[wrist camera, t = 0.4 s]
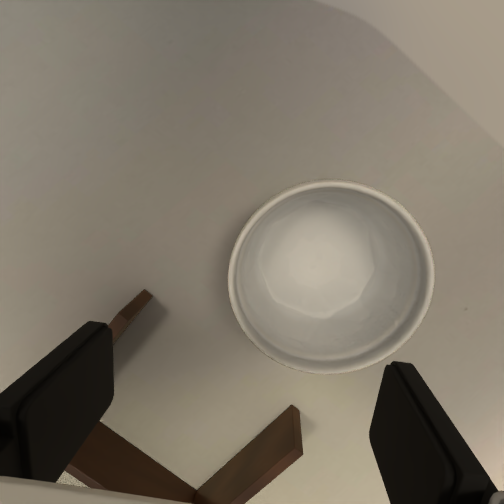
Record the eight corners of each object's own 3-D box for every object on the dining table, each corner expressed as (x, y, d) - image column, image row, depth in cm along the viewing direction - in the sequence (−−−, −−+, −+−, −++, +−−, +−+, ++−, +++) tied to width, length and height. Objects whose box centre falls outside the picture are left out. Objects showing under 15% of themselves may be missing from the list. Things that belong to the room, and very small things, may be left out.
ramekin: (226, 190, 26) (208, 198, 19) (392, 163, 25) (435, 162, 18) (251, 334, 29) (244, 383, 23) (399, 318, 28) (438, 366, 21)
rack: (144, 288, 29) (117, 313, 24) (299, 410, 31) (303, 454, 26) (2, 466, 36) (-41, 512, 31) (136, 555, 38) (115, 612, 33)
